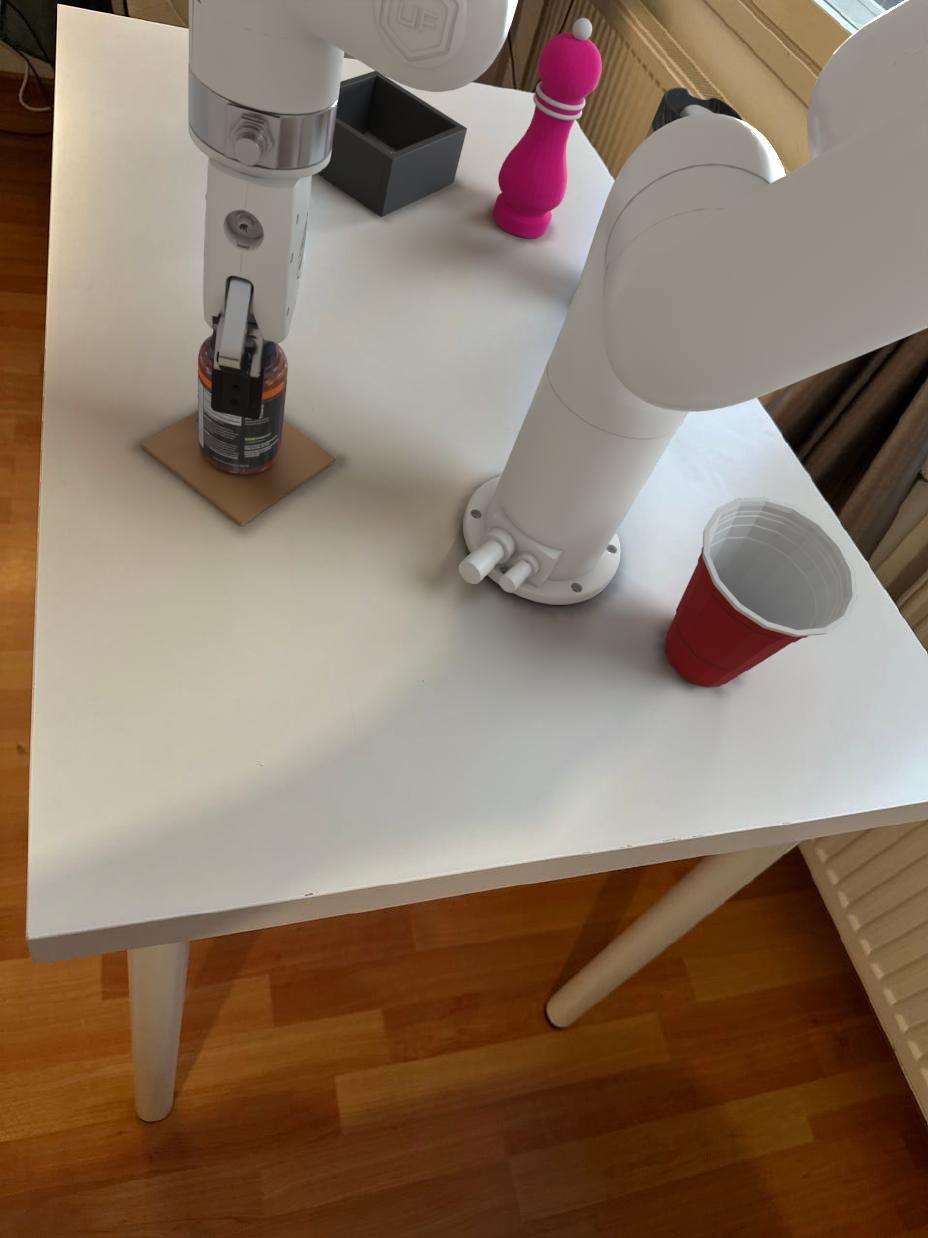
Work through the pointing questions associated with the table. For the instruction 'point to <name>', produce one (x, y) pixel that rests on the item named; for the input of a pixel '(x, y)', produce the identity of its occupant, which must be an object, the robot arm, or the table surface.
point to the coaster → (238, 492)
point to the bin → (390, 144)
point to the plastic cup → (757, 590)
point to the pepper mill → (547, 134)
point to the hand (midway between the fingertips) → (244, 377)
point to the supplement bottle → (238, 438)
